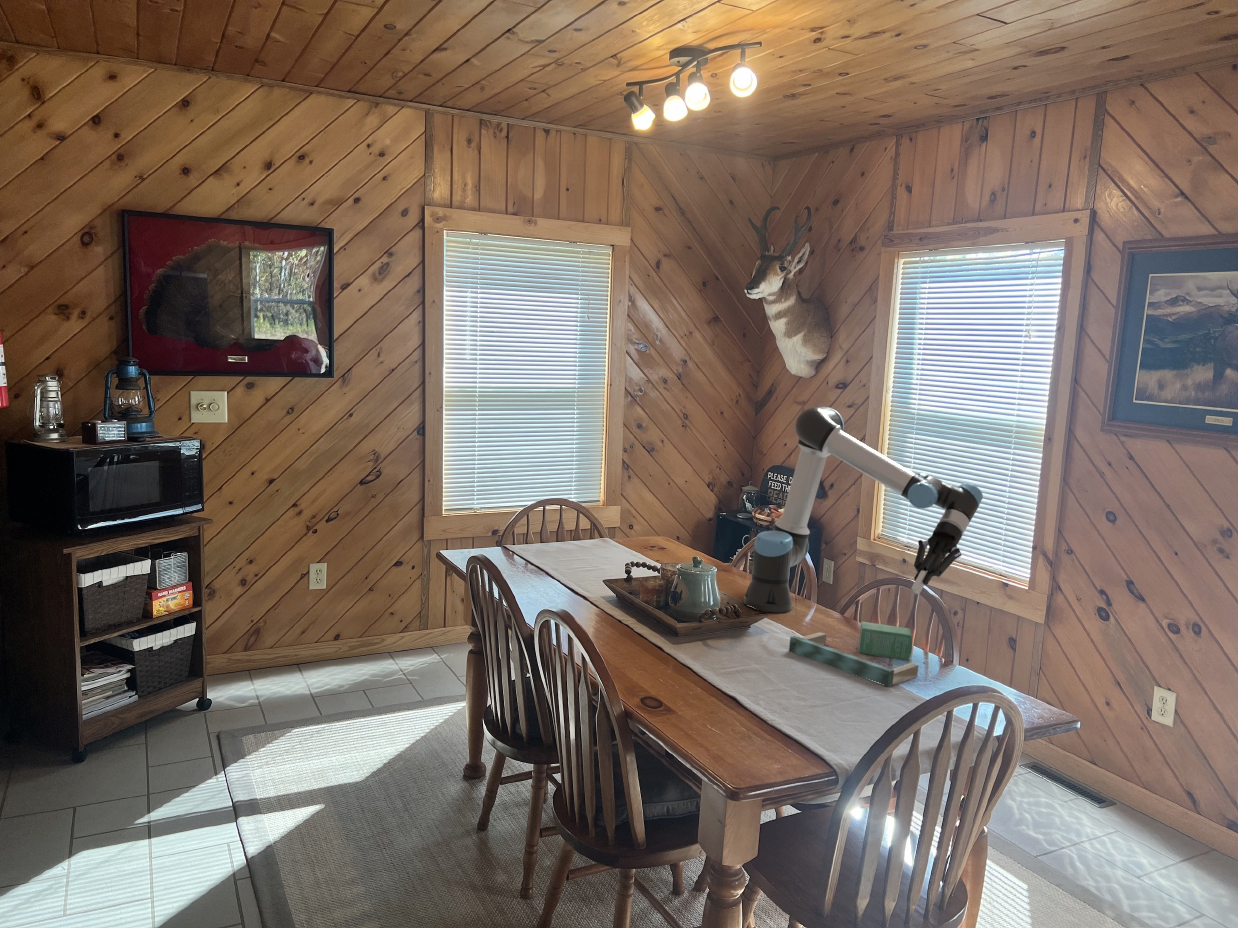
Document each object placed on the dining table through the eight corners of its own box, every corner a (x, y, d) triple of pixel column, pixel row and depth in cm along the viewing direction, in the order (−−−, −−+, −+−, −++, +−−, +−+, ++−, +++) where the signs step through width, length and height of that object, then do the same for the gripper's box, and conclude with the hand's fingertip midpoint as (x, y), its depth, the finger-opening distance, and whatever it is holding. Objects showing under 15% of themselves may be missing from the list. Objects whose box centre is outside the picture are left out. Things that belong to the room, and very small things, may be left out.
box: (910, 661, 237) (913, 634, 236) (858, 654, 239) (861, 627, 238) (907, 652, 244) (910, 626, 243) (857, 646, 246) (860, 620, 246)
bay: (788, 650, 237) (790, 636, 237) (819, 642, 247) (820, 628, 246) (888, 687, 215) (889, 671, 215) (917, 676, 225) (919, 661, 224)
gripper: (975, 541, 255) (940, 604, 246) (933, 532, 265) (898, 593, 255) (968, 524, 251) (932, 588, 242) (926, 516, 260) (890, 577, 251)
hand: (915, 591), depth 249 cm, fingers closed
